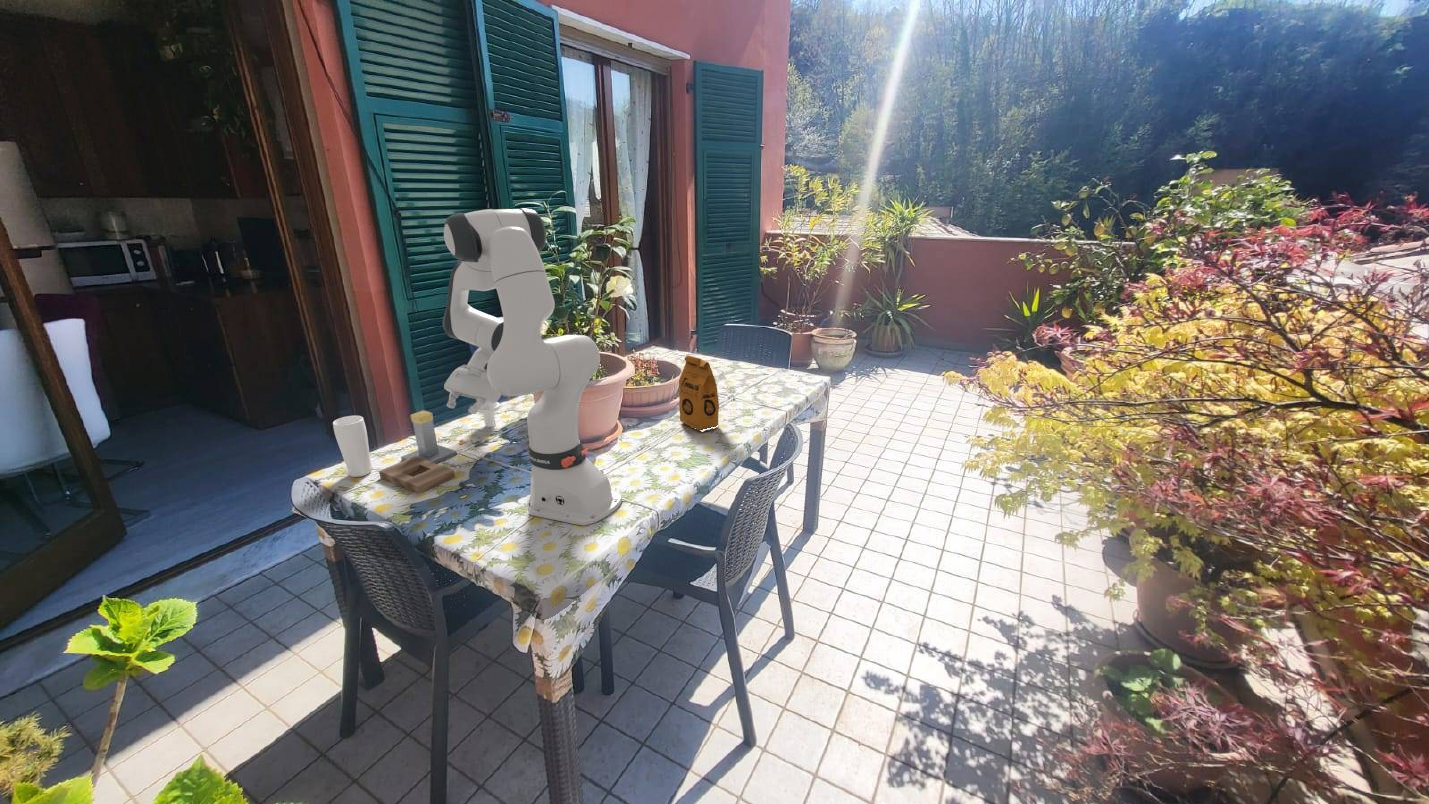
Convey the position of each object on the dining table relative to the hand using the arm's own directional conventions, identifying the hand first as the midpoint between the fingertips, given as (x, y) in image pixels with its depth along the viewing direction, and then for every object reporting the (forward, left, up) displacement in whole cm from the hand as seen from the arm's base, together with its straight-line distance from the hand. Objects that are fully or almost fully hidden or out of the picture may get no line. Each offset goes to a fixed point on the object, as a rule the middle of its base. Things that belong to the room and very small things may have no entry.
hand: (460, 410), depth 162 cm
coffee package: (-52, -46, -11) cm, 70 cm away
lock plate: (-7, +20, -11) cm, 24 cm away
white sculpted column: (+5, -13, -11) cm, 18 cm away
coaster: (+1, +11, -11) cm, 15 cm away
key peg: (+1, +11, -10) cm, 15 cm away
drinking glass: (+8, +26, -11) cm, 29 cm away
